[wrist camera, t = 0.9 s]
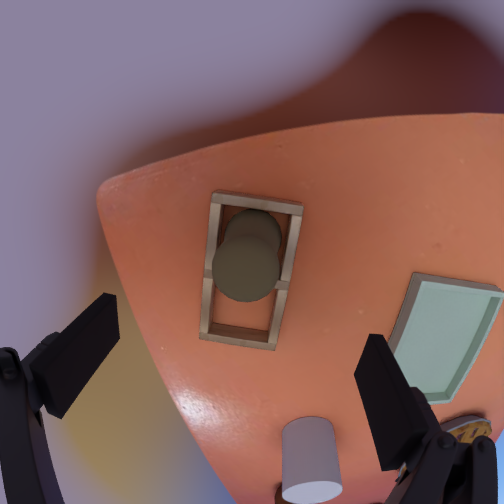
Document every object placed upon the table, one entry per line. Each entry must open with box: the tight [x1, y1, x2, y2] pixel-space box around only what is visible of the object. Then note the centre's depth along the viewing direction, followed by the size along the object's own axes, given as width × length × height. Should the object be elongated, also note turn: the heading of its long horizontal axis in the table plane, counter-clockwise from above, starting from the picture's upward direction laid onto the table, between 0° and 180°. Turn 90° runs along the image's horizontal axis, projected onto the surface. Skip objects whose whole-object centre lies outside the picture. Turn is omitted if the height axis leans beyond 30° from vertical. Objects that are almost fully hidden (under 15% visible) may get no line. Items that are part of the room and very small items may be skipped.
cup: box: [282, 417, 343, 504], centre depth 35 cm, size 8×8×12 cm
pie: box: [398, 415, 492, 477], centre depth 40 cm, size 22×22×5 cm
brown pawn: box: [212, 208, 282, 302], centre depth 27 cm, size 6×6×11 cm
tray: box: [388, 272, 504, 405], centre depth 34 cm, size 20×16×3 cm
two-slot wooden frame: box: [199, 190, 304, 351], centre depth 32 cm, size 17×9×2 cm, turn 172°
